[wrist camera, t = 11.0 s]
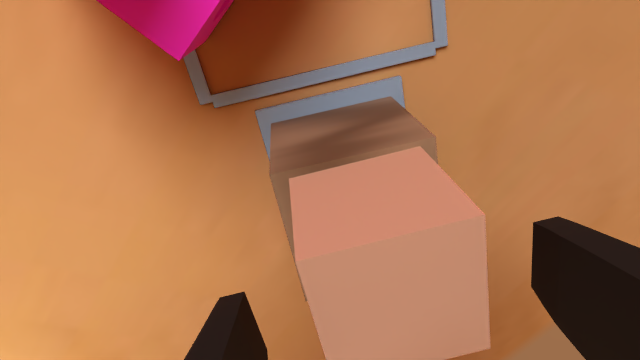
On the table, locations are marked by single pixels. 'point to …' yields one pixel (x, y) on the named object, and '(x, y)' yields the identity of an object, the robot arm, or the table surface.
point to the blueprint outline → (321, 75)
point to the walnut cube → (339, 144)
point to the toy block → (171, 21)
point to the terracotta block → (391, 259)
